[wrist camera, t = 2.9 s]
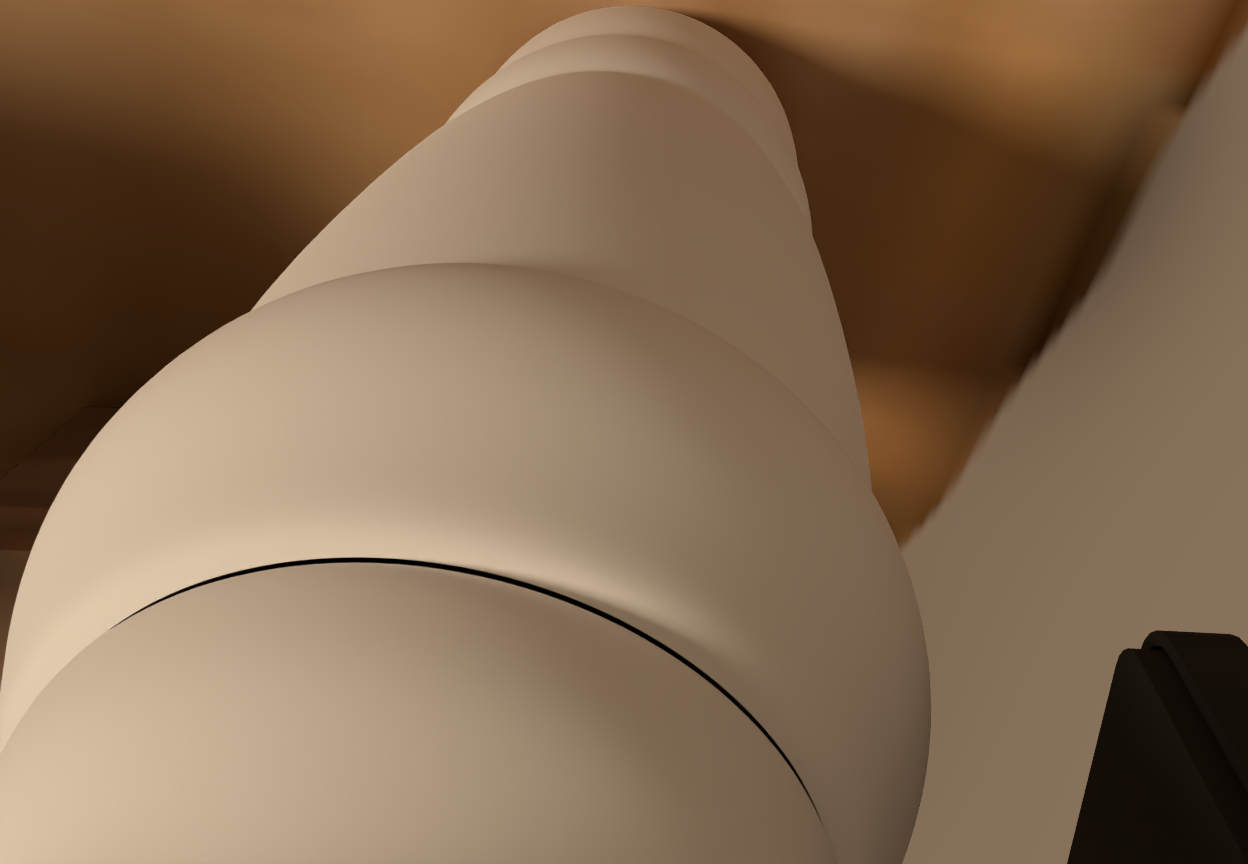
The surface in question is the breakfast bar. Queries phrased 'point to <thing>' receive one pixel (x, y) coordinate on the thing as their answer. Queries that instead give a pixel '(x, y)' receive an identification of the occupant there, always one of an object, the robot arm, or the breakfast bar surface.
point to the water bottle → (494, 520)
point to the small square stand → (37, 501)
